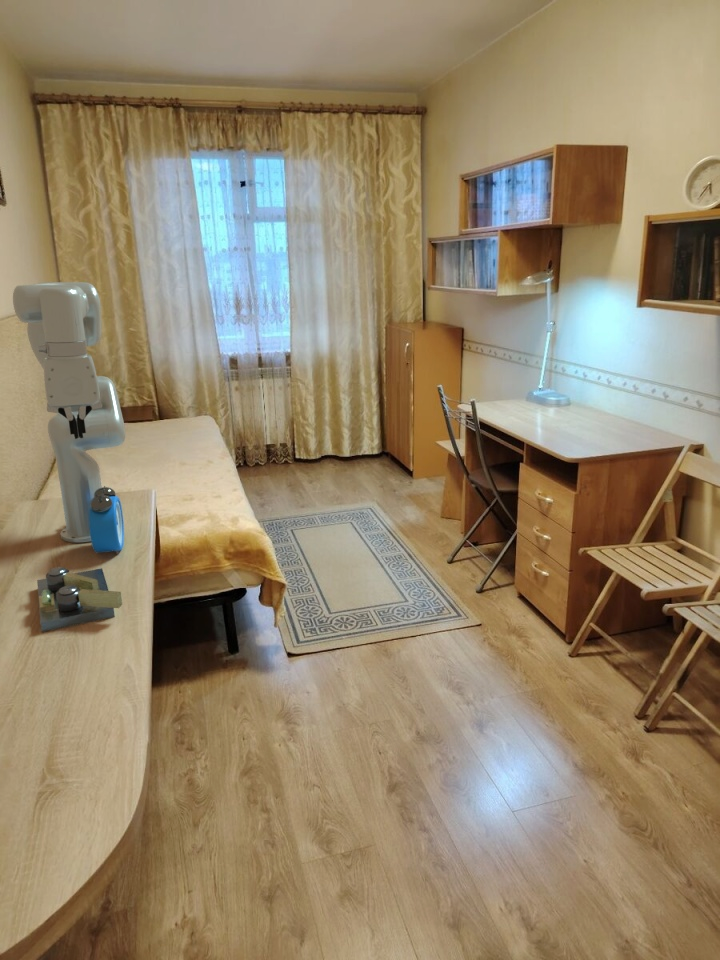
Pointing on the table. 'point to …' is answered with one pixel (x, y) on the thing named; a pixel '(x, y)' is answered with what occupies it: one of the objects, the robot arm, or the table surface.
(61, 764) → the table surface
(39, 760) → the table surface
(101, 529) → the alarm clock
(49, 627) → the control panel
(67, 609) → the knob
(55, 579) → the knob
